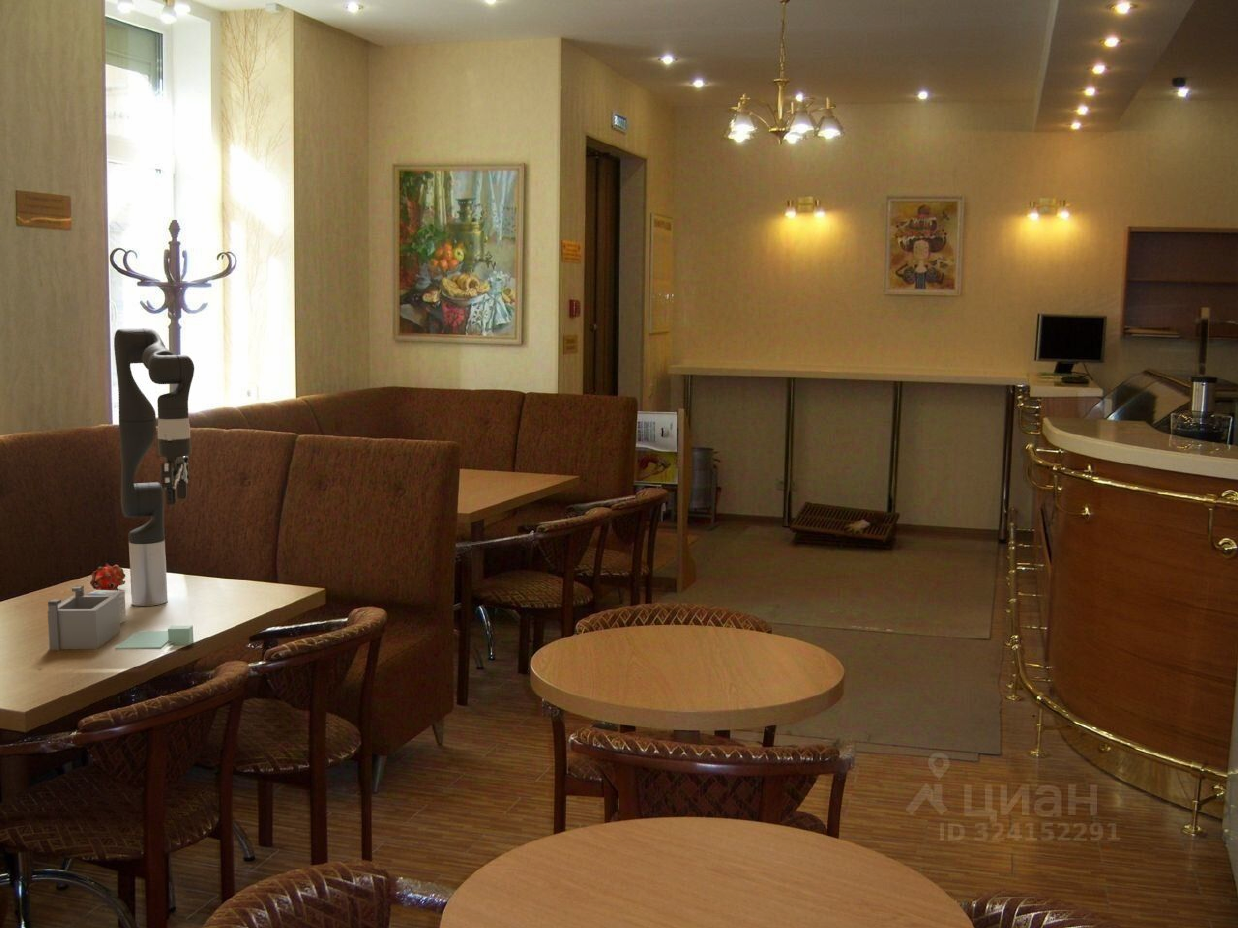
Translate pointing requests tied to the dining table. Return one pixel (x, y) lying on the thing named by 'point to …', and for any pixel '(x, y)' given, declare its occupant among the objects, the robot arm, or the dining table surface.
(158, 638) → the snap lid
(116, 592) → the medicine box
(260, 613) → the dining table surface
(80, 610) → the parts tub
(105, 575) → the dragon fruit
